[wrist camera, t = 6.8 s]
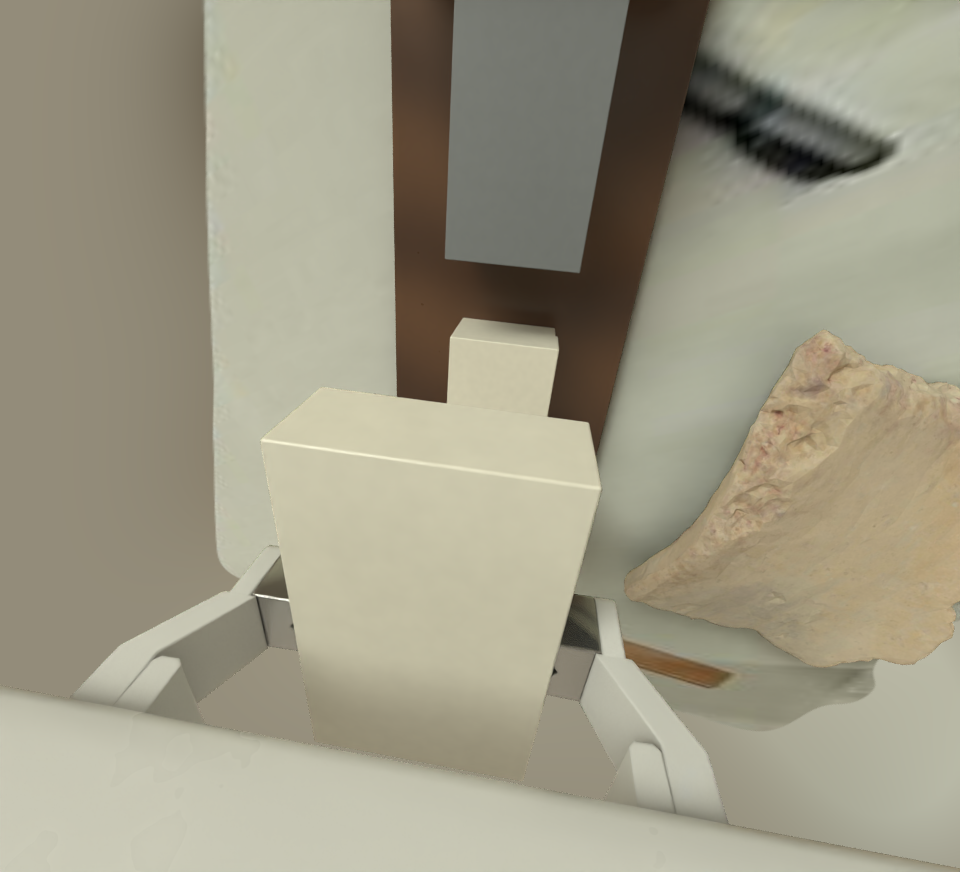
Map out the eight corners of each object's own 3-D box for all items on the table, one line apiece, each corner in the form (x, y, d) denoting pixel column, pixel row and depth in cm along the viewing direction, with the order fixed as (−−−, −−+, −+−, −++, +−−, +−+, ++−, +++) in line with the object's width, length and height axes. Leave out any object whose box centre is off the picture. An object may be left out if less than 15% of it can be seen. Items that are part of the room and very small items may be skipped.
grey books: (476, -10, 21) (453, -75, 16) (617, -1, 20) (641, -66, 15) (462, 245, 26) (442, 258, 21) (573, 256, 26) (579, 273, 21)
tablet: (1061, 416, 29) (798, 315, 26) (1217, 491, 22) (890, 367, 20) (799, 625, 42) (605, 571, 39) (851, 710, 35) (624, 652, 33)
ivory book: (320, 385, 10) (257, 438, 8) (590, 421, 9) (603, 488, 7) (347, 661, 15) (313, 742, 13) (526, 694, 14) (523, 783, 12)
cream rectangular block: (462, 314, 29) (447, 336, 24) (557, 324, 28) (559, 349, 24) (454, 448, 34) (441, 486, 29) (534, 459, 33) (533, 499, 29)
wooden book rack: (396, -76, 21) (305, -237, 13) (719, -61, 20) (834, -227, 12) (402, 454, 36) (360, 529, 28) (587, 480, 35) (599, 566, 27)
